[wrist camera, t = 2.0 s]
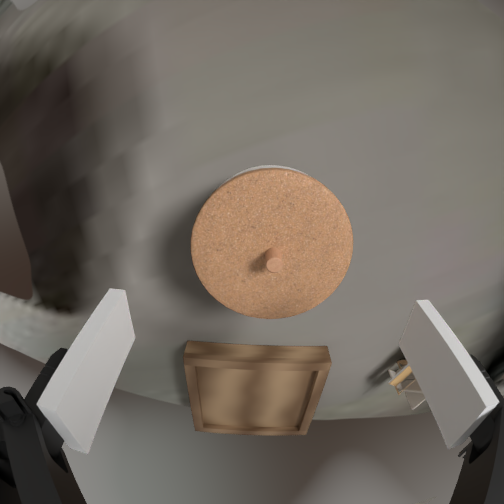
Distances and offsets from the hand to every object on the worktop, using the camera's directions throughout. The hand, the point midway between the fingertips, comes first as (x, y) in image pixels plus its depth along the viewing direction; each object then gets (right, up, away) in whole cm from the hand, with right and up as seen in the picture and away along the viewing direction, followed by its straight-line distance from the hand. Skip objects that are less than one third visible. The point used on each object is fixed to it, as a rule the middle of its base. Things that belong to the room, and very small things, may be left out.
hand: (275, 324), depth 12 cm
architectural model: (+19, -11, +22) cm, 31 cm away
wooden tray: (-1, -15, +23) cm, 27 cm away
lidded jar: (0, +6, +14) cm, 15 cm away
